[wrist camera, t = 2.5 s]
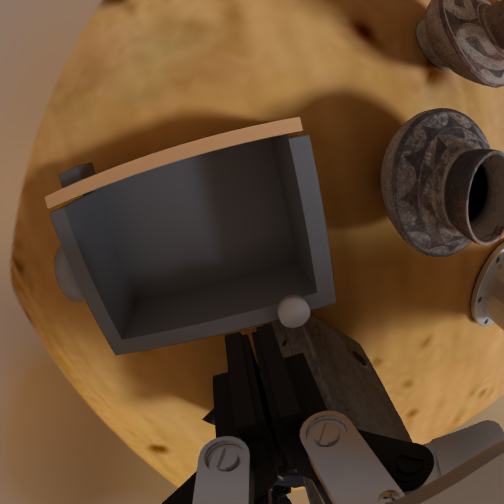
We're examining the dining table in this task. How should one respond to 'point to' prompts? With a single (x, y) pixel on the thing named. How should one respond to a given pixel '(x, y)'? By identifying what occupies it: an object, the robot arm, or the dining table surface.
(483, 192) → the pottery
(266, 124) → the door
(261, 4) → the dining table surface
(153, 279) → the grey open drawer box
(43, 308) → the dining table surface
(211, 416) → the vintage camera
